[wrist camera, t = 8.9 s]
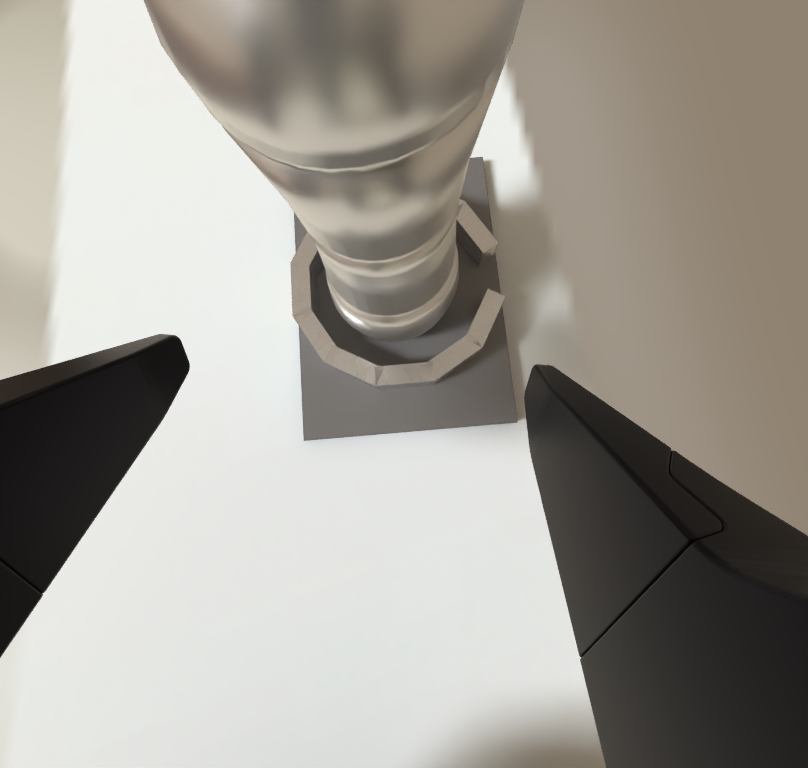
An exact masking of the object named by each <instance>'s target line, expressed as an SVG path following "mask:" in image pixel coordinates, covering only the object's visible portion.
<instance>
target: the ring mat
mask: <svg viewBox="0 0 808 768" xmlns="http://www.w3.org/2000/svg"><path fill="white" fill-rule="evenodd" d="M460 199H461V200H463V201H465V202H466V203H467V204H468V205H469V207H470V208H471V209H472V210H473V212H474V213H475V214H476V215H477V217H478V218H479V219H480V220H481V222H482V223H483V224H484V225H485V227H486V228H487V229H488V230H489V231H490V233H491V234H492V235H493V233H492V225H491V218H490V210H489V202H488V195H487V187H486V179H485V172H484V164H483V157H476V158H470V160H469V164H468V168H467V172H466V176H465V180H464V184H463V189H462V193H461V196H460ZM294 222H295V245H296V252H297V250H298V248H299V246H300V245H301V243H302V241H303V239H304V237H305V235H306V233H307V230H306V229H305V227H304V226H303V224H302V223H301V221H300V220H299V218H298V217H297V215H296V214H295V212H294ZM456 245H457V250H458V261H459V280H458V286H457V291H456V293H455V296H454V298H453V301H452V303H451V305H450V306H449V308H448V309H447V311H446V312H445V314H444V315H443V316H442V317H441V319H440V320H439V321H438V322H437V323H436V324H435V325H434V326H433V327H432V328H431V329H429V330H428V331H426V332H425V333H424V334H422V335H420V336H418V337H415V338H413V339H410V340H406V341H402V342H385V341H379V340H376V339H373V338H371V337H368V336H366V335H364V334H363V333H361V332H359V331H358V330H356V329H355V328H353V327H351V326H350V325H349V324H348V323H347V322H346V321H345V320H344V319H343V318H342V316H341V315H340V313H339V312H338V310H337V309H336V307H335V304H334V302H333V299H332V297H331V293H330V290H329V287H328V283H327V277H326V271H325V267H323V269H322V271H321V273H320V275H319V277H318V279H317V281H318V300H319V319H320V321H321V322H322V324H323V325H324V327H325V328H326V330H327V331H328V333H329V334H330V336H331V337H332V338H333V340H334V341H335V343H336V344H337V346H338V347H339V348H341V349H343V350H345V351H347V352H349V353H351V354H354V355H356V356H358V357H360V358H362V359H365V360H367V361H369V362H371V363H373V364H375V365H378V366H389V365H400V364H411V363H422V362H428V361H430V360H431V359H433V358H434V357H435V356H437V355H438V354H440V353H441V352H443V351H444V350H446V349H447V348H448V347H450V346H451V345H453V344H454V343H456V342H457V341H459V340H460V339H461V338H463V337H464V336H466V335H467V332H468V330H469V328H470V326H471V324H472V322H473V319H474V317H475V315H476V313H477V311H478V308H479V306H480V304H481V302H482V300H483V298H484V296H485V294H486V292H487V289H490V290H492V291H494V292H497V293H499V294H500V286H499V279H498V271H497V263H496V256H495V252H494V255H493V257H492V258H491V259H489V260H488V261H487V262H485V263H484V264H482V265H481V266H479V267H478V266H477V265H476V264H475V262H474V261H473V260H472V259H471V257H470V256H469V255H468V254H467V252H466V251H465V250H464V248H463V247H462V246H461V245H460V243H459V242H458V241H457V240H456ZM299 339H300V363H301V386H302V410H303V433H304V441H305V440H318V439H329V438H341V437H353V436H364V435H376V434H388V433H399V432H411V431H423V430H434V429H446V428H458V427H469V426H481V425H492V424H504V423H515V422H517V416H516V408H515V401H514V393H513V386H512V378H511V370H510V363H509V355H508V347H507V340H506V332H505V324H504V317H503V309H502V305H501V308H500V310H499V312H498V314H497V317H496V319H495V321H494V323H493V325H492V328H491V330H490V332H489V334H488V337H487V339H486V341H485V343H484V345H483V348H482V349H481V350H480V352H479V353H478V354H477V355H476V356H474V357H473V358H472V359H470V360H469V361H467V362H466V363H464V364H463V365H462V366H460V367H459V368H457V369H456V370H454V371H453V372H452V373H450V374H449V375H447V376H446V377H444V378H443V379H441V380H440V381H439V382H437V383H436V384H434V385H431V386H419V387H408V388H397V389H386V390H378V389H376V388H373V387H371V386H369V385H367V384H365V383H363V382H361V381H358V380H356V379H354V378H352V377H350V376H348V375H345V374H343V373H341V372H339V371H337V370H335V369H333V368H331V367H329V366H328V365H327V364H326V363H324V362H323V360H322V359H321V357H320V356H319V354H318V353H317V352H316V350H315V349H314V347H313V346H312V344H311V343H310V341H309V340H308V338H307V337H306V335H305V334H304V332H303V331H302V329H301V328H300V326H299Z"/></svg>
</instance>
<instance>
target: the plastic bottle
mask: <svg viewBox="0 0 808 768" xmlns="http://www.w3.org/2000/svg"><path fill="white" fill-rule="evenodd" d="M144 2H145V5H146V7H147V10H148V12H149V15H150V18H151V20H152V23H153V25H154V28H155V30H156V33H157V36H158V38H159V41H160V43H161V45H162V47H163V48H164V50H165V51H166V53H167V54H168V56H169V57H170V59H171V60H172V62H173V63H174V65H175V66H176V68H177V69H178V71H179V72H180V74H181V75H182V76H183V77H184V79H185V80H186V81H187V83H188V84H189V85H190V86H191V88H192V89H193V90H194V92H195V93H196V94H197V96H198V97H199V98H200V100H201V101H202V102H203V104H204V105H205V107H206V108H207V109H208V111H209V112H210V113H211V115H212V116H213V117H214V118H215V119H216V120H217V121H218V122H219V123H220V124H221V125H222V126H223V128H224V129H225V131H226V132H227V133H228V134H229V135H230V136H231V138H232V139H233V140H234V141H235V142H236V143H237V144H238V146H239V147H240V148H241V149H242V150H243V151H244V153H245V154H246V155H247V156H248V157H249V158H250V159H251V161H252V162H253V163H254V164H255V165H256V166H257V168H258V169H259V170H260V171H261V172H262V173H263V174H264V176H265V177H266V178H267V179H268V180H269V181H270V182H271V184H272V185H273V186H274V187H275V188H276V189H277V191H278V192H279V193H280V194H281V195H282V196H283V197H284V199H285V200H286V201H287V202H288V204H289V205H290V207H291V208H292V209H293V211H294V212H295V214H296V215H297V217H298V218H299V220H300V221H301V223H302V224H303V226H304V227H305V229H306V230H307V232H308V233H309V235H310V236H311V238H312V239H313V241H314V242H315V244H316V246H317V249H318V251H319V254H320V257H321V259H322V262H323V264H324V267H325V271H326V277H327V283H328V287H329V290H330V293H331V297H332V299H333V302H334V304H335V307H336V309H337V310H338V312H339V313H340V315H341V316H342V318H343V319H344V320H345V321H346V322H347V323H348V324H349V325H350V326H351V327H353V328H355V329H356V330H358V331H359V332H361V333H363V334H364V335H366V336H368V337H371V338H373V339H376V340H379V341H385V342H402V341H406V340H410V339H413V338H415V337H418V336H420V335H422V334H424V333H425V332H426V331H428V330H429V329H431V328H432V327H433V326H434V325H435V324H436V323H437V322H438V321H439V320H440V319H441V317H442V316H443V315H444V314H445V312H446V311H447V309H448V308H449V306H450V305H451V303H452V301H453V298H454V296H455V293H456V291H457V286H458V280H459V261H458V250H457V245H456V216H457V209H458V205H459V200H460V196H461V193H462V189H463V184H464V180H465V176H466V172H467V168H468V164H469V160H470V156H471V154H472V151H473V148H474V145H475V143H476V140H477V137H478V135H479V132H480V129H481V126H482V124H483V121H484V118H485V115H486V113H487V110H488V107H489V105H490V102H491V99H492V96H493V94H494V91H495V88H496V85H497V83H498V80H499V77H500V75H501V72H502V69H503V66H504V64H505V60H506V57H507V55H508V53H509V50H510V48H511V45H512V43H513V39H514V36H515V32H516V29H517V25H518V22H519V18H520V14H521V11H522V8H523V4H524V2H525V0H144Z"/></svg>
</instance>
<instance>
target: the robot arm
mask: <svg viewBox="0 0 808 768" xmlns="http://www.w3.org/2000/svg"><path fill="white" fill-rule="evenodd" d="M189 368H190V365H189V360H188V358H187V355H186V353H185V350H184V347H183V345H182V342H181V340H180V339H179V338H178V337H177V336H175V335H166V334H158V335H155V336H151V337H148V338H144V339H141V340H137V341H134V342H130V343H127V344H124V345H120V346H117V347H113V348H110V349H106V350H103V351H99V352H96V353H92V354H89V355H85V356H82V357H79V358H75V359H72V360H68V361H65V362H61V363H58V364H54V365H51V366H47V367H44V368H40V369H37V370H34V371H30V372H27V373H23V374H20V375H17V376H13V377H10V378H6V379H2V380H0V657H1V656H2V654H3V653H4V652H5V650H6V649H7V647H8V646H9V644H10V642H11V641H12V640H13V638H14V637H15V636H16V634H17V633H18V631H19V630H20V628H21V627H22V625H23V624H24V622H25V621H26V619H27V618H28V617H29V615H30V614H31V612H32V611H33V609H34V608H35V606H36V605H37V603H38V602H39V600H40V599H41V598H42V596H43V594H42V593H44V592H45V591H46V590H47V588H48V587H49V585H50V584H51V582H52V581H53V579H54V578H55V576H56V575H57V574H58V572H59V571H60V569H61V568H62V566H63V565H64V563H65V562H66V560H67V559H68V557H69V556H70V555H71V553H72V552H73V550H74V549H75V547H76V546H77V544H78V543H79V541H80V540H81V538H82V537H83V536H84V534H85V533H86V531H87V530H88V528H89V527H90V525H91V524H92V522H93V521H94V519H95V518H96V517H97V515H98V514H99V512H100V511H101V509H102V508H103V506H104V505H105V503H106V502H107V501H108V499H109V498H110V496H111V495H112V493H113V492H114V490H115V489H116V487H117V486H118V484H119V483H120V482H121V480H122V479H123V477H124V476H125V474H126V473H127V471H128V470H129V468H130V467H131V465H132V464H133V463H134V461H135V460H136V458H137V457H138V455H139V454H140V452H141V451H142V449H143V448H144V446H145V445H146V444H147V442H148V441H149V439H150V438H151V436H152V435H153V433H154V432H155V430H156V429H157V428H158V426H159V425H160V423H161V421H162V420H163V418H164V417H165V415H166V413H167V411H168V410H169V408H170V406H171V404H172V402H173V400H174V398H175V396H176V395H177V393H178V391H179V389H180V387H181V385H182V383H183V382H184V380H185V378H186V376H187V374H188V372H189ZM524 401H525V411H526V420H527V429H528V439H529V447H530V453H531V458H532V463H533V467H534V471H535V475H536V479H537V483H538V487H539V491H540V495H541V500H542V504H543V508H544V512H545V516H546V520H547V524H548V528H549V532H550V537H551V541H552V545H553V549H554V553H555V557H556V561H557V565H558V570H559V574H560V578H561V582H562V586H563V590H564V594H565V598H566V602H567V607H568V611H569V615H570V619H571V623H572V627H573V631H574V635H575V639H576V644H577V648H578V652H579V656H580V657H581V659H580V661H581V665H582V669H583V673H584V678H585V682H586V686H587V690H588V694H589V698H590V702H591V706H592V711H593V715H594V719H595V723H596V727H597V731H598V735H599V739H600V744H601V748H602V752H603V756H604V760H605V764H606V768H808V536H807V535H805V534H804V533H802V532H801V531H799V530H797V529H796V528H794V527H792V526H791V525H789V524H788V523H786V522H784V521H783V520H781V519H779V518H778V517H776V516H775V515H773V514H771V513H770V512H768V511H766V510H765V509H763V508H762V507H760V506H758V505H757V504H755V503H754V502H752V501H750V500H749V499H747V498H746V497H744V496H742V495H741V494H739V493H737V492H736V491H734V490H733V489H731V488H729V487H728V486H726V485H725V484H723V483H722V482H720V481H719V480H717V479H716V478H714V477H713V476H711V475H710V474H708V473H706V472H705V471H704V470H702V469H701V468H699V467H698V466H696V465H695V464H693V463H692V462H690V461H689V460H687V459H686V458H684V457H683V456H682V455H680V454H679V453H677V452H676V451H671V448H670V447H669V446H667V445H666V444H664V443H663V442H661V441H660V440H658V439H657V438H656V437H654V436H653V435H651V434H650V433H648V432H647V431H645V430H644V429H643V428H641V427H640V426H638V425H637V424H635V423H634V422H632V421H631V420H630V419H628V418H627V417H625V416H624V415H622V414H621V413H619V412H618V411H616V410H615V409H614V408H612V407H611V406H609V405H608V404H606V403H605V402H604V401H602V400H601V399H599V398H598V397H596V396H595V395H593V394H592V393H591V392H589V391H588V390H586V389H585V388H583V387H582V386H581V385H579V384H578V383H576V382H575V381H573V380H572V379H570V378H569V377H568V376H566V375H565V374H563V373H562V372H560V371H559V370H557V369H556V368H555V367H553V366H550V365H539V364H538V365H535V366H534V367H533V368H532V371H531V374H530V377H529V381H528V384H527V387H526V390H525V396H524Z"/></svg>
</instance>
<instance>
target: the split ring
mask: <svg viewBox="0 0 808 768" xmlns="http://www.w3.org/2000/svg"><path fill="white" fill-rule="evenodd" d="M456 240H457V241H458V242H459V243H460V245H461V246H462V247H463V248H464V250H465V251H466V252H467V254H468V255H469V256H470V257H471V259H472V260H473V261H474V262H475V264H476V265H477V266H478V267H479V266H481V265H482V264H484V263H485V262H487V261H488V260H489V259H491V258H492V257H493V255H494V252H495V250H496V248H497V245H498V241H497V240H496V239H495V238H494V236H493V235H492V234H491V233H490V231H489V230H488V229H487V228H486V227H485V225H484V224H483V223H482V222H481V220H480V219H479V218H478V217H477V215H476V214H475V213H474V212H473V210H472V209H471V208H470V207H469V205H468V204H467V203H466V202H465V201H463V200H461V199H460V200H459V205H458V209H457V216H456ZM323 267H324V264H323V262H322V259H321V257H320V254H319V251H318V249H317V246H316V244H315V242H314V241H313V239H312V238H311V236H310V235H309V233H308V232H307V233H306V235H305V237H304V239H303V241H302V243H301V245H300V246H299V248H298V250H297V252H296V254H295V256H294V258H293V259H292V261H291V285H292V310H293V317H294V319H295V320H296V322H297V323H298V325H299V326H300V328H301V329H302V331H303V332H304V334H305V335H306V337H307V338H308V340H309V341H310V343H311V344H312V346H313V347H314V349H315V350H316V352H317V353H318V354H319V356H320V357H321V359H322V360H323V362H324V363H326V364H327V365H328V366H329V367H331V368H333V369H335V370H337V371H339V372H341V373H343V374H345V375H348V376H350V377H352V378H354V379H356V380H358V381H361V382H363V383H365V384H367V385H369V386H371V387H373V388H376V389H378V390H386V389H397V388H408V387H419V386H431V385H434V384H436V383H437V382H439V381H440V380H441V379H443V378H444V377H446V376H447V375H449V374H450V373H452V372H453V371H454V370H456V369H457V368H459V367H460V366H462V365H463V364H464V363H466V362H467V361H469V360H470V359H472V358H473V357H474V356H476V355H477V354H478V353H479V352H480V350H481V349H482V348H483V345H484V343H485V341H486V339H487V337H488V334H489V332H490V330H491V328H492V325H493V323H494V321H495V319H496V317H497V314H498V312H499V310H500V308H501V305H502V303H503V301H504V299H505V297H506V296H504V295H502V294H499V293H497V292H494V291H492V290H490V289H487V292H486V294H485V296H484V298H483V300H482V302H481V304H480V306H479V308H478V311H477V313H476V315H475V317H474V319H473V322H472V324H471V326H470V328H469V330H468V332H467V335H466V336H464V337H463V338H461V339H460V340H459V341H457V342H456V343H454V344H453V345H451V346H450V347H448V348H447V349H446V350H444V351H443V352H441V353H440V354H438V355H437V356H435V357H434V358H433V359H431V360H430V361H428V362H422V363H411V364H400V365H389V366H378V365H375V364H373V363H371V362H369V361H367V360H365V359H362V358H360V357H358V356H356V355H354V354H351V353H349V352H347V351H345V350H343V349H341V348H339V347H338V346H337V344H336V343H335V341H334V340H333V338H332V337H331V336H330V334H329V333H328V331H327V330H326V328H325V327H324V325H323V324H322V322H321V321H320V319H319V300H318V281H317V279H318V277H319V275H320V273H321V271H322V269H323Z"/></svg>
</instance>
